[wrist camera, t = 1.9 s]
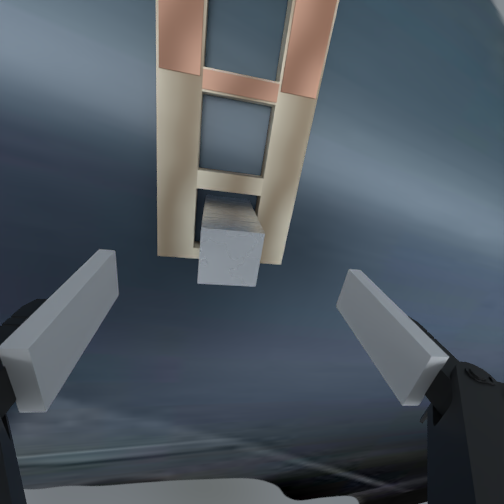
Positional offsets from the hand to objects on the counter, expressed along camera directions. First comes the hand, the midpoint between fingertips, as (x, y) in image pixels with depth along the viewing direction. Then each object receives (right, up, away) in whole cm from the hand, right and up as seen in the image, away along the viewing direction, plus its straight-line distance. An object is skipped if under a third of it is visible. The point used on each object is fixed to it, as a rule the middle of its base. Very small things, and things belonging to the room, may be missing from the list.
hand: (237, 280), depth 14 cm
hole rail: (-1, +11, +7) cm, 14 cm away
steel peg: (-2, +5, +10) cm, 12 cm away
